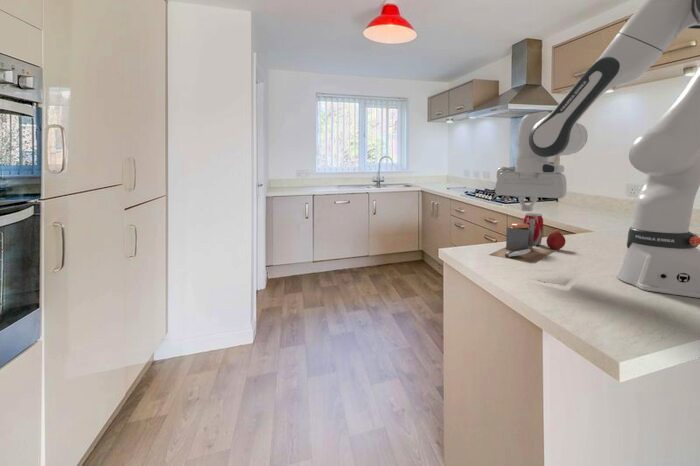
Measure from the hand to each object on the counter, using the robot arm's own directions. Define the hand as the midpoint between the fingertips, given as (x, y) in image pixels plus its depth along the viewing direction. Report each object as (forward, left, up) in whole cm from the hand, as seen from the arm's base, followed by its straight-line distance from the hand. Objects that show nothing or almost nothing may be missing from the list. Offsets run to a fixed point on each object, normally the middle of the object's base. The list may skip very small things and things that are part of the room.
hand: (526, 210), depth 110 cm
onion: (-4, -21, -17) cm, 27 cm away
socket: (+5, -11, -17) cm, 21 cm away
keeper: (+2, 0, -15) cm, 15 cm away
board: (+3, -6, -17) cm, 18 cm away
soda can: (+6, -27, -17) cm, 32 cm away
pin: (+5, -11, -15) cm, 20 cm away
